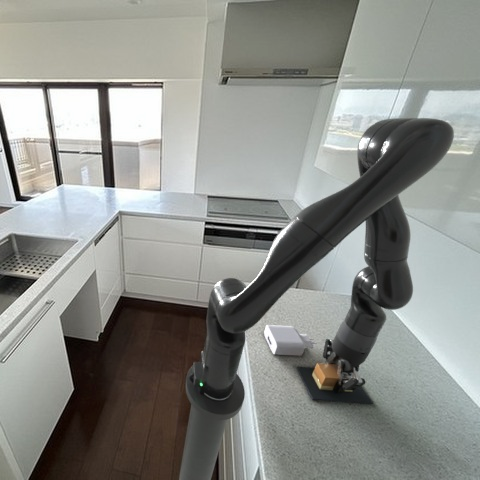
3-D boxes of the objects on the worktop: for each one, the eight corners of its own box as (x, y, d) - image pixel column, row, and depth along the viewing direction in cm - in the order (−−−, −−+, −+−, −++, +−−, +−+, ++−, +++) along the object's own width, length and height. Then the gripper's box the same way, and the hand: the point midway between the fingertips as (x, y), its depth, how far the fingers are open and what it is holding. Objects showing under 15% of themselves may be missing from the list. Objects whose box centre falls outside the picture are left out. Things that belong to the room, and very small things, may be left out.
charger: (320, 358, 81) (273, 355, 81) (305, 335, 90) (263, 333, 89) (325, 347, 79) (277, 345, 79) (309, 325, 87) (266, 323, 87)
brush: (319, 389, 71) (325, 377, 69) (311, 374, 75) (317, 363, 73) (352, 391, 71) (359, 379, 68) (342, 377, 75) (348, 365, 73)
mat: (312, 400, 69) (313, 398, 68) (296, 367, 78) (296, 366, 77) (372, 404, 68) (373, 403, 68) (349, 371, 77) (349, 370, 77)
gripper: (324, 318, 72) (306, 360, 79) (357, 362, 59) (332, 407, 66) (351, 320, 72) (330, 362, 79) (390, 364, 59) (361, 409, 66)
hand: (331, 382), depth 73 cm, fingers closed on brush, 4 cm apart
